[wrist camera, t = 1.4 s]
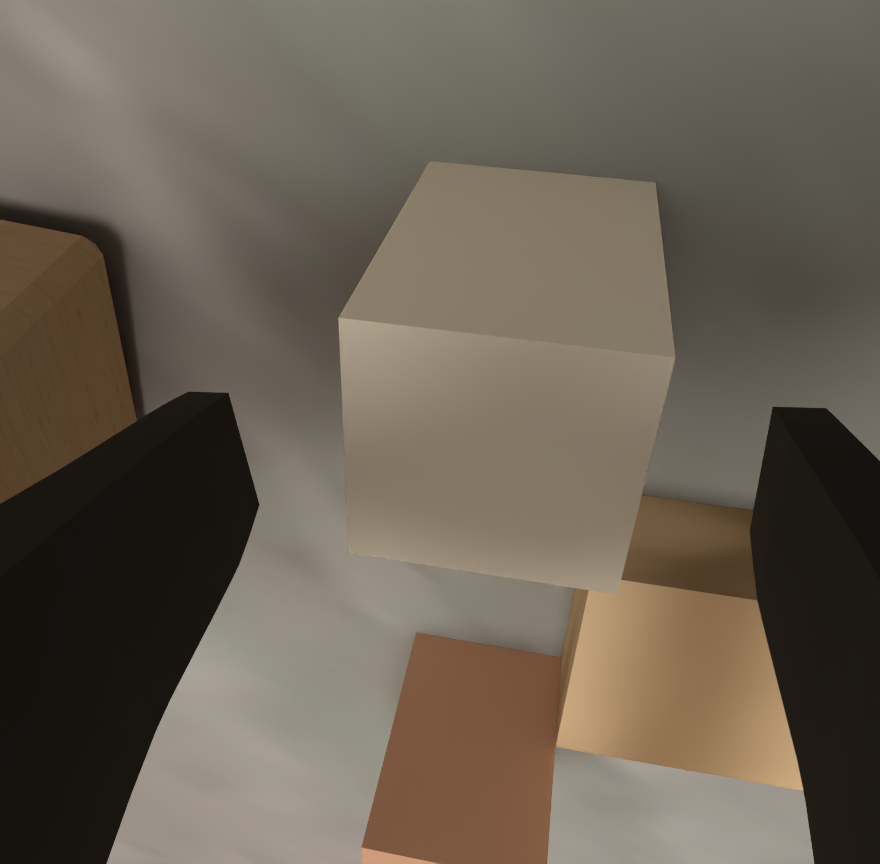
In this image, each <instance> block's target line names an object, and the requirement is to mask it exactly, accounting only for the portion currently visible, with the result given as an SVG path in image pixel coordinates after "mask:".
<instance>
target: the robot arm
mask: <svg viewBox="0 0 880 864" xmlns="http://www.w3.org/2000/svg"><path fill="white" fill-rule="evenodd" d="M258 507H259V502H258V498H257V495H256V491H255V487H254V484H253V480H252V477H251V473H250V469H249V466H248V462H247V459H246V455H245V451H244V448H243V444H242V441H241V437H240V433H239V430H238V426H237V423H236V419H235V415H234V412H233V408H232V405H231V401H230V397H229V394H228V393H211V392H187V393H185V394H183V395H181V396H179V397H177V398H175V399H173V400H171V401H170V402H168V403H166V404H164V405H163V406H161V407H159V408H157V409H156V410H154V411H152V412H151V413H149V414H147V415H146V416H144V417H143V418H141V419H139V420H138V421H136V422H135V423H133V424H131V425H130V426H128V427H127V428H125V429H123V430H122V431H120V432H119V433H117V434H115V435H114V436H112V437H111V438H109V439H107V440H106V441H104V442H103V443H101V444H99V445H98V446H96V447H95V448H93V449H91V450H90V451H88V452H87V453H85V454H83V455H82V456H80V457H79V458H77V459H75V460H74V461H72V462H71V463H69V464H67V465H66V466H64V467H63V468H61V469H59V470H58V471H56V472H54V473H52V474H51V475H49V476H47V477H46V478H44V479H42V480H40V481H39V482H37V483H35V484H33V485H32V486H30V487H28V488H27V489H25V490H23V491H21V492H20V493H18V494H16V495H14V496H13V497H11V498H9V499H8V500H6V501H4V502H2V503H1V504H0V864H106V863H107V860H108V858H109V855H110V852H111V849H112V846H113V844H114V841H115V838H116V835H117V832H118V830H119V827H120V824H121V821H122V818H123V816H124V813H125V810H126V807H127V804H128V801H129V799H130V796H131V793H132V791H133V788H134V786H135V783H136V780H137V778H138V775H139V773H140V770H141V768H142V765H143V762H144V760H145V757H146V755H147V752H148V750H149V747H150V744H151V742H152V739H153V737H154V734H155V732H156V729H157V727H158V725H159V723H160V720H161V718H162V716H163V714H164V712H165V710H166V708H167V705H168V703H169V701H170V699H171V697H172V695H173V693H174V691H175V689H176V687H177V685H178V683H179V681H180V679H181V678H182V676H183V674H184V672H185V670H186V668H187V666H188V664H189V662H190V660H191V658H192V656H193V654H194V652H195V651H196V649H197V647H198V645H199V643H200V641H201V639H202V637H203V635H204V633H205V631H206V629H207V627H208V625H209V624H210V622H211V620H212V618H213V616H214V614H215V612H216V610H217V608H218V606H219V604H220V602H221V600H222V598H223V596H224V594H225V592H226V590H227V588H228V586H229V584H230V582H231V580H232V578H233V576H234V574H235V572H236V570H237V568H238V566H239V563H240V561H241V558H242V555H243V552H244V550H245V547H246V544H247V541H248V538H249V535H250V532H251V529H252V526H253V523H254V520H255V517H256V514H257V510H258ZM750 540H751V550H752V559H753V569H754V577H755V586H756V594H757V601H758V606H759V610H760V614H761V618H762V622H763V626H764V630H765V635H766V639H767V643H768V647H769V651H770V655H771V659H772V663H773V667H774V671H775V675H776V679H777V683H778V687H779V691H780V694H781V698H782V702H783V706H784V710H785V714H786V718H787V722H788V726H789V730H790V734H791V738H792V742H793V746H794V750H795V754H796V758H797V762H798V766H799V771H800V776H801V781H802V786H803V791H804V796H805V801H806V807H807V814H808V821H809V828H810V835H811V842H812V849H813V856H814V863H815V864H880V461H879V460H878V459H877V458H876V457H875V456H874V455H873V454H872V453H871V452H870V451H869V450H868V449H867V448H866V447H865V446H864V445H863V444H862V443H861V442H860V441H859V440H858V439H857V438H856V437H855V436H854V435H853V434H852V433H851V432H850V431H849V430H848V429H847V428H846V427H845V426H844V425H843V424H842V423H841V422H840V421H839V420H838V419H837V418H836V417H835V416H834V415H833V414H831V413H830V412H829V411H828V410H827V409H826V408H794V407H773V409H772V414H771V419H770V425H769V430H768V435H767V441H766V446H765V451H764V457H763V462H762V467H761V473H760V478H759V483H758V489H757V494H756V499H755V505H754V510H753V515H752V521H751V526H750Z"/></svg>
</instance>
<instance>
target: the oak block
mask: <svg viewBox="0 0 880 864" xmlns="http://www.w3.org/2000/svg"><path fill="white" fill-rule="evenodd" d="M752 515H753V511H752V510H745V509H738V508H730V507H723V506H716V505H709V504H702V503H695V502H687V501H680V500H673V499H666V498H659V497H652V496H644V495H642V496H641V500H640V504H639V509H638V513H637V517H636V521H635V525H634V529H633V533H632V537H631V541H630V545H629V549H628V553H627V557H626V562H625V566H624V570H623V574H622V578H621V582H620V586H619V590H618V594H617V595H616V594H610V593H604V592H597V591H591V590H584V589H578V588H575V591H574V596H573V601H572V606H571V611H570V616H569V622H568V627H567V632H566V637H565V642H564V647H563V652H562V657H561V672H560V688H559V703H558V718H557V733H556V747H559V748H565V749H570V750H576V751H582V752H587V753H593V754H599V755H604V756H610V757H616V758H621V759H627V760H633V761H638V762H644V763H650V764H655V765H661V766H667V767H672V768H678V769H684V770H689V771H695V772H700V773H706V774H712V775H717V776H723V777H729V778H734V779H740V780H746V781H751V782H757V783H763V784H768V785H774V786H780V787H785V788H791V789H797V790H802V791H803V786H802V781H801V776H800V771H799V766H798V762H797V758H796V754H795V750H794V746H793V742H792V738H791V734H790V730H789V726H788V722H787V718H786V714H785V710H784V706H783V702H782V698H781V694H780V691H779V687H778V683H777V679H776V675H775V671H774V667H773V663H772V659H771V655H770V651H769V647H768V643H767V639H766V635H765V630H764V626H763V622H762V618H761V614H760V610H759V606H758V601H757V594H756V586H755V577H754V569H753V559H752V550H751V540H750V526H751V521H752Z"/></svg>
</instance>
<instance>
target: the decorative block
mask: <svg viewBox="0 0 880 864" xmlns="http://www.w3.org/2000/svg"><path fill="white" fill-rule="evenodd" d="M136 421H137V419H136V414H135V409H134V404H133V399H132V394H131V390H130V385H129V380H128V375H127V370H126V365H125V360H124V355H123V350H122V345H121V340H120V336H119V331H118V326H117V321H116V316H115V311H114V306H113V301H112V296H111V291H110V287H109V282H108V277H107V272H106V267H105V262H104V257H103V254H102V253H101V252H100V250H99V249H98V247H97V246H96V244H95V243H94V242H92V241H90V240H89V239H87V238H85V237H83V236H81V235H76V234H71V233H66V232H61V231H55V230H50V229H45V228H40V227H35V226H30V225H25V224H20V223H15V222H10V221H5V220H0V504H1V503H2V502H4V501H6V500H8V499H9V498H11V497H13V496H14V495H16V494H18V493H20V492H21V491H23V490H25V489H27V488H28V487H30V486H32V485H33V484H35V483H37V482H39V481H40V480H42V479H44V478H46V477H47V476H49V475H51V474H52V473H54V472H56V471H58V470H59V469H61V468H63V467H64V466H66V465H67V464H69V463H71V462H72V461H74V460H75V459H77V458H79V457H80V456H82V455H83V454H85V453H87V452H88V451H90V450H91V449H93V448H95V447H96V446H98V445H99V444H101V443H103V442H104V441H106V440H107V439H109V438H111V437H112V436H114V435H115V434H117V433H119V432H120V431H122V430H123V429H125V428H127V427H128V426H130V425H131V424H133V423H135V422H136Z"/></svg>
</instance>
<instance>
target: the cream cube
mask: <svg viewBox="0 0 880 864" xmlns="http://www.w3.org/2000/svg"><path fill="white" fill-rule="evenodd" d="M338 321H339V343H340V365H341V387H342V409H343V432H344V454H345V476H346V498H347V521H348V543H349V553H351V554H358V555H364V556H371V557H377V558H384V559H390V560H397V561H403V562H410V563H416V564H422V565H429V566H435V567H442V568H448V569H455V570H461V571H468V572H474V573H481V574H487V575H494V576H500V577H507V578H513V579H519V580H526V581H532V582H539V583H545V584H552V585H558V586H565V587H571V588H578V589H584V590H591V591H597V592H604V593H610V594H616V595H617V594H618V590H619V586H620V582H621V578H622V574H623V570H624V566H625V562H626V557H627V553H628V549H629V545H630V541H631V537H632V533H633V529H634V525H635V521H636V517H637V513H638V509H639V504H640V500H641V496H642V492H643V488H644V484H645V480H646V476H647V472H648V468H649V464H650V460H651V456H652V451H653V447H654V443H655V439H656V435H657V431H658V427H659V423H660V419H661V415H662V411H663V407H664V403H665V398H666V394H667V390H668V386H669V382H670V378H671V374H672V370H673V366H674V362H675V349H674V340H673V332H672V323H671V314H670V305H669V296H668V287H667V279H666V270H665V261H664V252H663V243H662V234H661V226H660V217H659V208H658V199H657V190H656V182H647V181H636V180H626V179H615V178H604V177H594V176H583V175H572V174H562V173H551V172H541V171H530V170H519V169H509V168H498V167H487V166H477V165H466V164H455V163H445V162H434V161H429V163H428V165H427V166H426V168H425V170H424V172H423V173H422V175H421V177H420V178H419V180H418V182H417V184H416V185H415V187H414V189H413V190H412V192H411V194H410V196H409V197H408V199H407V201H406V203H405V204H404V206H403V208H402V209H401V211H400V213H399V215H398V216H397V218H396V220H395V221H394V223H393V225H392V227H391V228H390V230H389V232H388V233H387V235H386V237H385V239H384V240H383V242H382V244H381V245H380V247H379V249H378V251H377V252H376V254H375V256H374V257H373V259H372V261H371V263H370V264H369V266H368V268H367V269H366V271H365V273H364V275H363V276H362V278H361V280H360V281H359V283H358V285H357V287H356V288H355V290H354V292H353V293H352V295H351V297H350V299H349V300H348V302H347V304H346V305H345V307H344V309H343V311H342V312H341V314H340V316H339V317H338Z"/></svg>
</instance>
